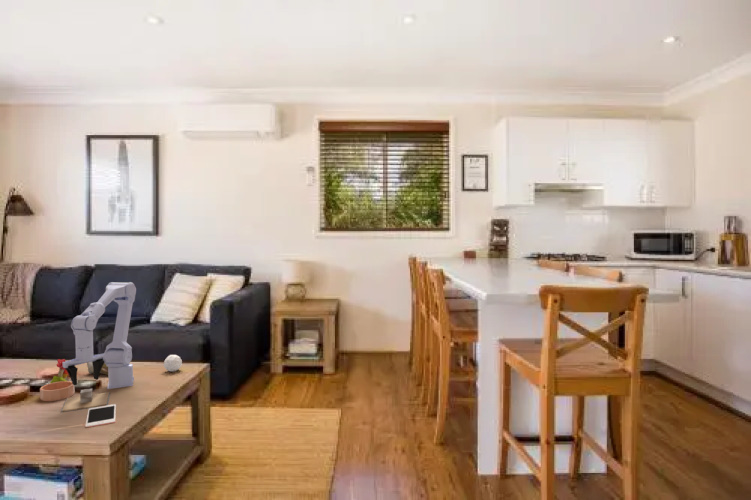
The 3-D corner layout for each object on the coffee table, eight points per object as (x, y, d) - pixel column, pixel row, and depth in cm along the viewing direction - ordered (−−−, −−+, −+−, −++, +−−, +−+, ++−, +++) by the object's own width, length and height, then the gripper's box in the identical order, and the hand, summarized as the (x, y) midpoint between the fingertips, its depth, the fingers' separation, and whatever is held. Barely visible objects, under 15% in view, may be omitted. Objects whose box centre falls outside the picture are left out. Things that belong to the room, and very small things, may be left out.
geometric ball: (169, 377, 217) (157, 366, 214) (175, 367, 225) (164, 355, 222) (181, 370, 216) (170, 358, 213) (187, 360, 223) (176, 348, 220)
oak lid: (108, 393, 188) (108, 382, 188) (106, 405, 176) (106, 393, 175) (67, 399, 182) (67, 387, 182) (62, 411, 169) (61, 399, 169)
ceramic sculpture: (94, 351, 221) (126, 353, 221) (94, 369, 221) (125, 371, 221) (80, 357, 210) (113, 359, 210) (79, 376, 210) (112, 378, 210)
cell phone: (85, 429, 157) (85, 426, 157) (88, 410, 173) (88, 408, 173) (115, 423, 161) (115, 421, 161) (115, 406, 177) (115, 403, 177)
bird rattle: (55, 387, 202) (47, 385, 194) (58, 361, 206) (51, 358, 198) (71, 386, 204) (65, 384, 196) (74, 360, 208) (68, 357, 200)
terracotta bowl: (75, 390, 193) (75, 379, 193) (72, 399, 183) (72, 388, 183) (43, 394, 188) (43, 383, 188) (38, 403, 178) (37, 392, 178)
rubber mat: (110, 393, 189) (110, 392, 189) (107, 406, 175) (107, 405, 175) (66, 400, 182) (66, 398, 182) (60, 413, 169) (60, 412, 169)
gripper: (99, 341, 186) (100, 374, 187) (58, 349, 174) (59, 385, 175) (108, 343, 182) (109, 378, 183) (66, 352, 170) (68, 388, 171)
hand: (85, 381), depth 178 cm, fingers open, 7 cm apart
